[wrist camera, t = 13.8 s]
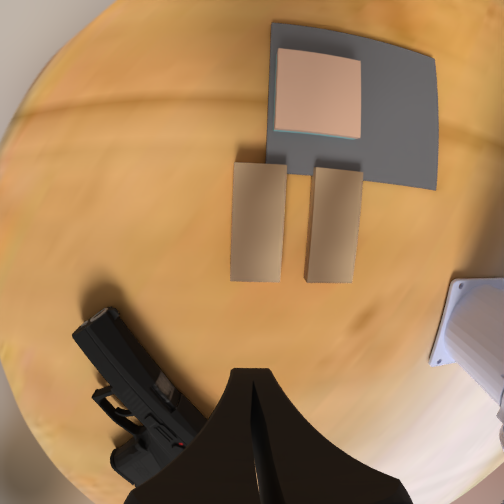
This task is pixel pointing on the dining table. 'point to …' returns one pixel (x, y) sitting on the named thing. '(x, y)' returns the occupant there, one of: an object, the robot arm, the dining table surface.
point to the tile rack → (272, 223)
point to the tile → (317, 94)
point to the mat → (366, 112)
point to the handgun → (137, 398)
